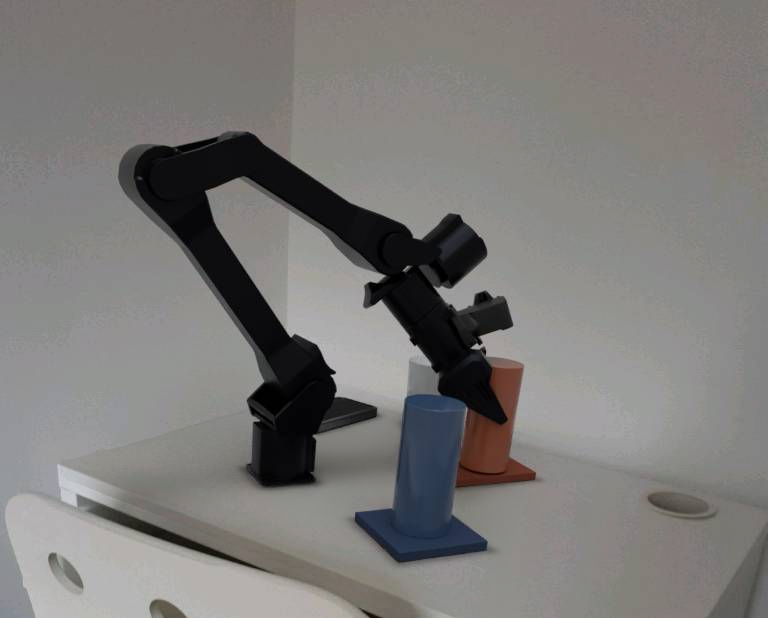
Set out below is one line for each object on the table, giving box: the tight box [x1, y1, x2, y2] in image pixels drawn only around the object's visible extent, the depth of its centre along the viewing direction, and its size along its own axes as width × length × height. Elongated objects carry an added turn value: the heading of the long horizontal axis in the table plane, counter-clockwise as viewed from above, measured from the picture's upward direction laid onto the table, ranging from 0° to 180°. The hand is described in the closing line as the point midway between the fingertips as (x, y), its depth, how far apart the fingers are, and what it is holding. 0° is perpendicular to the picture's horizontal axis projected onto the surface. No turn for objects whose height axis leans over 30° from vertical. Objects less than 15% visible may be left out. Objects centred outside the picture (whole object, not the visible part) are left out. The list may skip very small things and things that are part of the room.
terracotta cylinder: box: [459, 356, 525, 473], centre depth 99 cm, size 6×6×13 cm
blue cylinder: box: [391, 394, 467, 538], centre depth 80 cm, size 6×6×13 cm
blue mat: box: [354, 507, 489, 563], centre depth 83 cm, size 10×10×1 cm
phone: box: [318, 396, 379, 433], centre depth 118 cm, size 8×1×15 cm
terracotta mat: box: [455, 456, 537, 488], centre depth 102 cm, size 12×6×1 cm, turn 117°
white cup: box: [406, 354, 442, 397], centre depth 117 cm, size 8×8×10 cm
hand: (502, 415), depth 99 cm, fingers closed on terracotta cylinder, 6 cm apart
